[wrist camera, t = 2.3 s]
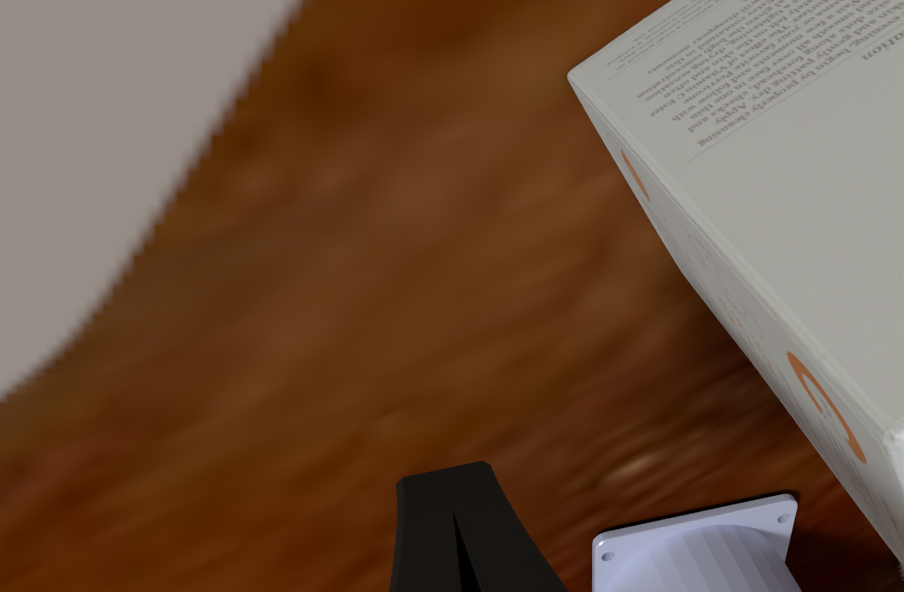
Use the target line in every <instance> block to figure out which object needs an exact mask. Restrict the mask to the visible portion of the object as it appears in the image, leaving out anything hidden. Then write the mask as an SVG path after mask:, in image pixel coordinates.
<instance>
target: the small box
mask: <svg viewBox="0 0 904 592" xmlns="http://www.w3.org/2000/svg"><path fill="white" fill-rule="evenodd" d="M567 76H568V80H569V82H570V84H571V86H572V88H573V89H574V91H575V93H576V95H577V97H578V98H579V100H580V102H581V104H582V105H583V107H584V109H585V111H586V113H587V114H588V116H589V118H590V119H591V121H592V123H593V125H594V126H595V128H596V130H597V131H598V133H599V135H600V137H601V138H602V140H603V142H604V143H605V145H606V147H607V149H608V150H609V152H610V154H611V155H612V157H613V159H614V160H615V162H616V164H617V165H618V167H619V169H620V171H621V172H622V174H623V176H624V177H625V179H626V181H627V182H628V184H629V186H630V187H631V189H632V191H633V192H634V194H635V196H636V197H637V199H638V201H639V203H640V204H641V206H642V208H643V209H644V211H645V213H646V214H647V216H648V218H649V219H650V221H651V223H652V224H653V226H654V228H655V229H656V231H657V233H658V234H659V236H660V238H661V239H662V241H663V243H664V244H665V246H666V248H667V249H668V251H669V253H670V254H671V256H672V258H673V259H674V261H675V262H676V264H677V266H678V267H679V269H680V270H681V272H682V273H683V275H684V276H685V277H686V279H687V280H688V281H689V283H690V284H691V285H692V287H693V288H694V289H695V290H696V292H697V293H698V294H699V296H700V297H701V298H702V299H703V301H704V302H705V303H706V305H707V306H708V307H709V309H710V310H711V311H712V312H713V314H714V315H715V316H716V318H717V319H718V320H719V321H720V323H721V324H722V325H723V327H724V328H725V329H726V330H727V332H728V333H729V334H730V335H731V337H732V338H733V339H734V341H735V342H736V343H737V344H738V346H739V347H740V348H741V350H742V351H743V352H744V353H745V355H746V356H747V357H748V358H749V360H750V361H751V362H752V364H753V365H754V366H755V368H756V369H757V370H758V372H759V373H760V374H761V376H762V377H763V378H764V380H765V381H766V383H767V384H768V385H769V387H770V388H771V389H772V391H773V392H774V393H775V395H776V396H777V397H778V399H779V400H780V401H781V403H782V404H783V405H784V407H785V408H786V409H787V411H788V412H789V413H790V415H791V416H792V418H793V419H794V420H795V422H796V423H797V424H798V426H799V427H800V428H801V430H802V431H803V433H804V434H805V435H806V437H807V438H808V439H809V441H810V442H811V443H812V445H813V446H814V447H815V449H816V450H817V452H818V453H819V454H820V456H821V457H822V458H823V460H824V461H825V462H826V464H827V465H828V466H829V468H830V469H831V470H832V472H833V473H834V474H835V476H836V477H837V479H838V480H839V481H840V483H841V484H842V485H843V487H844V488H845V489H846V491H847V492H848V493H849V495H850V496H851V497H852V499H853V500H854V501H855V503H856V504H857V505H858V507H859V508H860V509H861V511H862V512H863V513H864V515H865V516H866V517H867V519H868V520H869V521H870V523H871V524H872V525H873V527H874V528H875V529H876V531H877V532H878V533H879V535H880V536H881V537H882V539H883V540H884V541H885V543H886V544H887V545H888V547H889V548H890V549H891V551H892V552H893V553H894V555H895V556H896V557H897V559H898V560H899V561H900V562H901V564H902V565H903V566H904V0H671V1H670V2H668V3H667V4H665V5H664V6H662V7H661V8H659V9H658V10H657V11H655V12H654V13H652V14H651V15H649V16H648V17H646V18H645V19H643V20H642V21H640V22H639V23H637V24H636V25H635V26H633V27H632V28H630V29H629V30H627V31H626V32H625V33H623V34H622V35H620V36H619V37H617V38H616V39H614V40H613V41H612V42H610V43H609V44H607V45H606V46H605V47H603V48H602V49H600V50H599V51H598V52H596V53H595V54H593V55H592V56H590V57H589V58H587V59H586V60H585V61H583V62H582V63H580V64H579V65H577V66H576V67H574V68H573V69H571V71H570V72H569V73H568V75H567Z"/></svg>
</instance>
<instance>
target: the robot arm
mask: <svg viewBox="0 0 904 592" xmlns="http://www.w3.org/2000/svg"><path fill="white" fill-rule="evenodd" d="M396 490H397V530H396V542H395V552H394V562H393V569H392V576H391V582H390V589H389V592H569V591H568V590H567V588H566V587H565V586H564V585H563V583H562V582H561V580H560V579H559V578H558V576H557V575H556V573H555V572H554V571H553V569H552V568H551V566H550V565H549V564H548V562H547V561H546V559H545V558H544V557H543V555H542V554H541V552H540V551H539V550H538V548H537V547H536V545H535V544H534V542H533V541H532V539H531V538H530V536H529V535H528V533H527V531H526V530H525V528H524V527H523V525H522V523H521V522H520V520H519V519H518V517H517V515H516V514H515V512H514V510H513V509H512V507H511V505H510V503H509V502H508V500H507V498H506V496H505V494H504V493H503V491H502V489H501V487H500V485H499V483H498V481H497V479H496V477H495V475H494V472H493V470H492V468H491V465H490V464H488V463H486V462H484V461H479V462H474V463H470V464H465V465H460V466H455V467H450V468H446V469H441V470H436V471H431V472H426V473H421V474H417V475H412V476H407V477H402V479H401V480H400V481H399V482H398V483H397V484H396ZM797 507H798V504H797V502H796V500H795V499H794V497H793V496H792V495H790V494H781V495H776V496H771V497H767V498H762V499H757V500H753V501H748V502H743V503H739V504H734V505H729V506H725V507H720V508H715V509H711V510H706V511H701V512H697V513H692V514H687V515H683V516H678V517H673V518H669V519H664V520H659V521H654V522H650V523H645V524H640V525H636V526H631V527H626V528H622V529H617V530H612V531H608V532H604V533H601V534H599V535H598V536H596V538H595V539H594V540H593V543H592V592H802V591H801V589H800V588H799V586H798V584H797V583H796V581H795V579H794V578H793V576H792V574H791V573H790V571H789V569H788V568H787V566H786V565H785V558H786V554H787V550H788V546H789V541H790V537H791V533H792V528H793V524H794V520H795V516H796V511H797Z"/></svg>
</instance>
